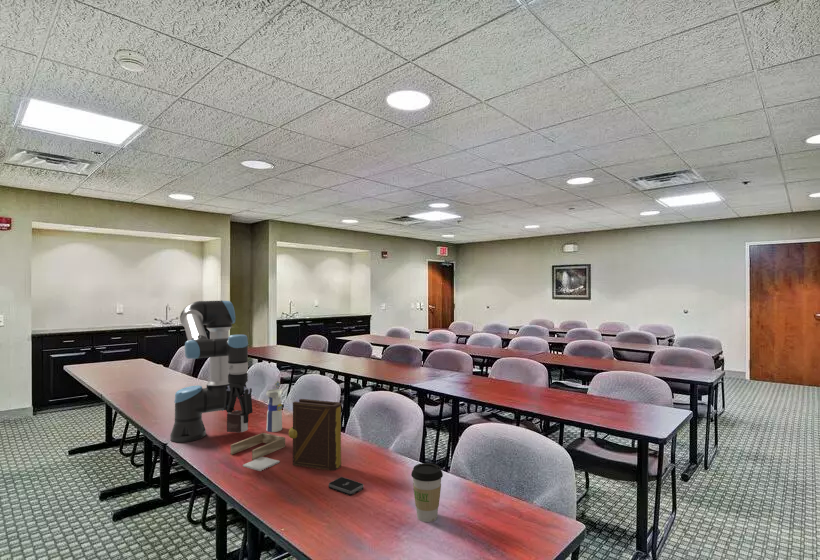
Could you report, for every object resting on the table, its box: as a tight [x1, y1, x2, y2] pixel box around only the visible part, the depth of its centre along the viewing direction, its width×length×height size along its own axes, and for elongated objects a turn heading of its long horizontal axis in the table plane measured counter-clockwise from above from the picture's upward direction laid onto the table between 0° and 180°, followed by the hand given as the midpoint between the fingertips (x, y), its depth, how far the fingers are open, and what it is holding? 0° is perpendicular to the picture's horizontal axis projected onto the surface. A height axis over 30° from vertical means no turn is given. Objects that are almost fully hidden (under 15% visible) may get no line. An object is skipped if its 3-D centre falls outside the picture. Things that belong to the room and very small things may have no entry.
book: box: [288, 398, 342, 472], centre depth 180 cm, size 22×8×25 cm, turn 71°
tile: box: [242, 456, 281, 472], centre depth 180 cm, size 10×10×1 cm
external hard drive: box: [328, 476, 364, 497], centre depth 158 cm, size 7×11×2 cm, turn 55°
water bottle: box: [265, 380, 284, 433], centre depth 224 cm, size 8×9×25 cm
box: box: [226, 409, 246, 433], centre depth 181 cm, size 6×6×7 cm
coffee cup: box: [411, 462, 444, 523], centre depth 139 cm, size 10×10×15 cm
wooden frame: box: [230, 432, 286, 461], centre depth 195 cm, size 14×18×4 cm
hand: (237, 429), depth 181 cm, fingers closed on box, 7 cm apart
